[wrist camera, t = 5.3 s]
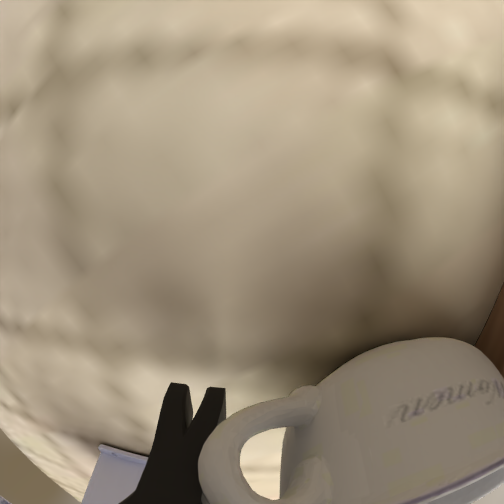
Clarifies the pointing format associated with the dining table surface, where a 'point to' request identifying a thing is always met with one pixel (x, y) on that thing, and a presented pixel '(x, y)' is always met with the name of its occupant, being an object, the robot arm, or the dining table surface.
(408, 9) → the dining table surface
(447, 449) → the teacup
